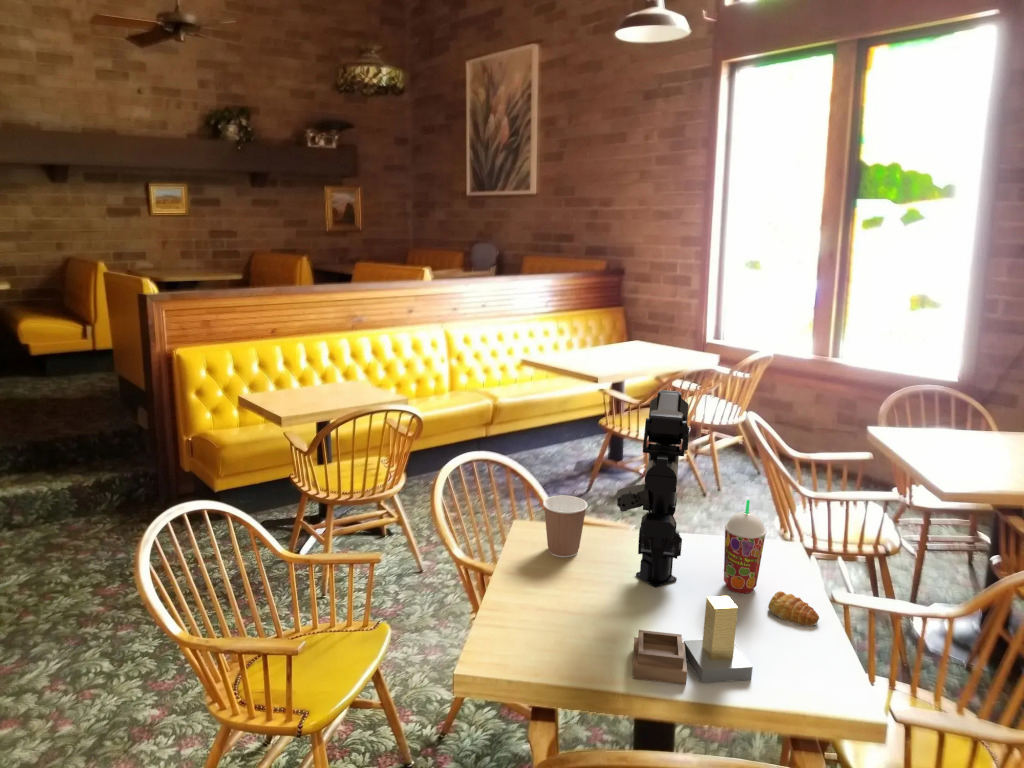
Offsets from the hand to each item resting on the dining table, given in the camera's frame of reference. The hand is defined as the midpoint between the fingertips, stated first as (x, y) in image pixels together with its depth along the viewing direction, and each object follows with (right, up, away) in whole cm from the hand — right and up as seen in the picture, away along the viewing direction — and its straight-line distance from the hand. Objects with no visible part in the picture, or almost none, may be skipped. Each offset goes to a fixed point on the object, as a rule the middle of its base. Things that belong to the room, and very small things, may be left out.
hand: (656, 551), depth 150 cm
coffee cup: (-17, -6, +29) cm, 34 cm away
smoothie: (+20, -11, +13) cm, 27 cm away
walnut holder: (-3, -17, -16) cm, 23 cm away
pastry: (+28, -14, +3) cm, 31 cm away
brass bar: (+8, -15, -16) cm, 23 cm away
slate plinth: (+8, -17, -15) cm, 24 cm away
